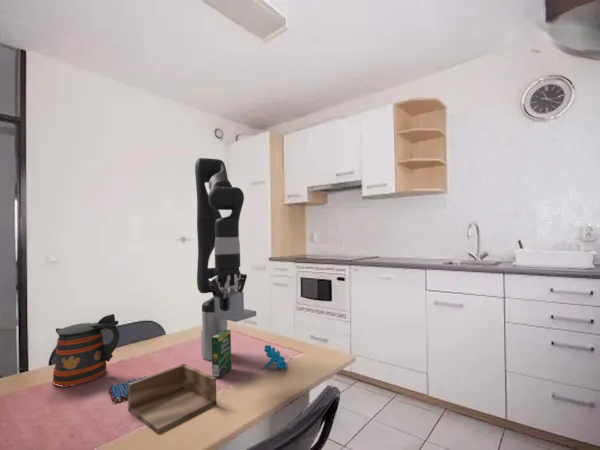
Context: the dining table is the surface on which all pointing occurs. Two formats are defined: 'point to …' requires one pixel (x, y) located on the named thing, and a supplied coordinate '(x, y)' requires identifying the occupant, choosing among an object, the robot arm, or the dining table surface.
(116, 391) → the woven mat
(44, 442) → the dining table surface
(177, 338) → the dining table surface
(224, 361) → the coffee box
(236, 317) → the bracket
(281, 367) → the gear
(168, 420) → the corner arena
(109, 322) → the beer stein
